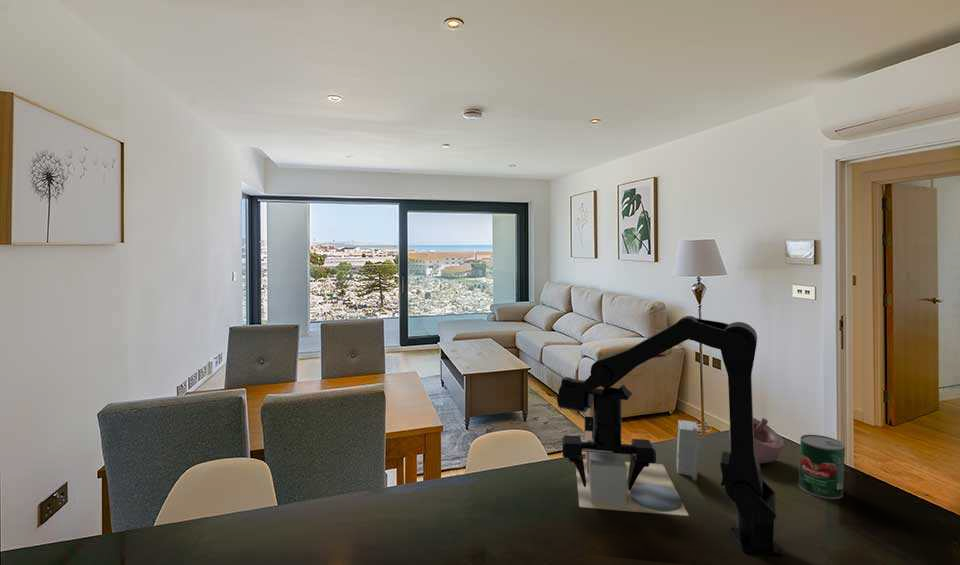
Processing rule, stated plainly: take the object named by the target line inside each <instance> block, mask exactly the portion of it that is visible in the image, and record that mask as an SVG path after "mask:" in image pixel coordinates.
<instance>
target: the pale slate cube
mask: <svg viewBox="0 0 960 565" xmlns="http://www.w3.org/2000/svg"><path fill="white" fill-rule="evenodd" d="M625 462H626V461H625V458H624V454H617V453H601V452H589V490H590V498H591V503H603V504H616V505H626V488H627V467H626V464H625Z"/></svg>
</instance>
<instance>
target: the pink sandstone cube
mask: <svg viewBox="0 0 960 565" xmlns="http://www.w3.org/2000/svg"><path fill="white" fill-rule="evenodd" d="M584 433H585V434H584V436H585V438H584V439H585V440H584V442H593V439H592V431H585V430H584ZM584 455H585V456H584V457H585V458H584V459H585V462H586V469H587V474H589V452H585V454H584Z"/></svg>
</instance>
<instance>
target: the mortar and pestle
mask: <svg viewBox="0 0 960 565" xmlns="http://www.w3.org/2000/svg"><path fill="white" fill-rule="evenodd" d="M768 423H769V421H768V420H767V419H766V418H765V417H762V418H761V420H759V419H757V418H755V417H753V429H754V448H755V452H756V455H757V458H758V461H759V464H767V463H771V462H774V461H775V460H777V459H778V458H779V457H781V455H782V453H783V452H784V449H785V446H786V444H785V441H784V440H783V438H782V437H781V435H779V434H778V432H776V431H774V429H772V428H771V427H770V426H769V425H768ZM728 439H729V443H731V436H730V428H729V430H728Z"/></svg>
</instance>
